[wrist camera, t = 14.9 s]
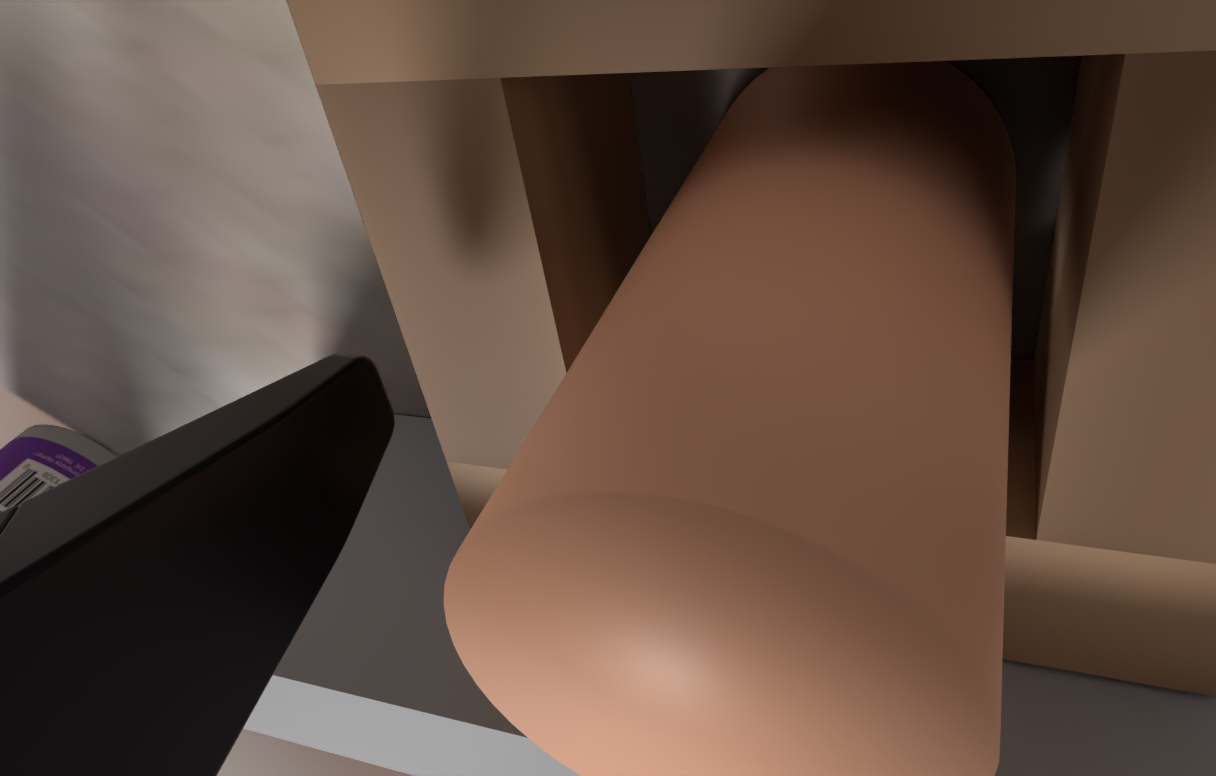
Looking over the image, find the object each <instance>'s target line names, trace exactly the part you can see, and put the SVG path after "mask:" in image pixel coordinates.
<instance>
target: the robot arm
mask: <svg viewBox="0 0 1216 776" xmlns="http://www.w3.org/2000/svg"><path fill="white" fill-rule="evenodd" d="M394 427H395V417H394V412H393V409H392V406H391V403H390V401H389V398H388V396H387V393H386V390H385V388H384V385H383V382H382V380H381V377H380V375H379V372H378V369H377V367H376V365H375V363H374V362H373V361H372V360H371V359H370V358H368V357H366V356H363V355H351V354H333V355H330V356H328V357H326V358H324V359H322V360H320V361H318V362H316V363H313V364H311V365H309V366H307V367H305V368H303V369H301V370H299V371H297V372H295V373H292V374H290V375H288V376H286V377H284V378H282V379H280V380H278V381H276V382H274V383H271V384H269V385H267V386H265V387H263V388H261V389H259V390H257V391H255V392H253V393H250V394H248V395H246V396H244V397H242V398H240V399H238V400H236V401H234V402H232V403H229V404H227V405H225V406H223V407H221V408H219V409H217V410H215V411H213V412H211V413H209V414H206V415H204V416H202V417H200V418H198V419H196V420H194V421H192V422H190V423H188V424H185V425H183V426H181V427H179V428H177V429H175V430H173V431H171V432H169V433H167V434H164V435H162V436H160V437H158V438H156V439H154V440H152V441H150V442H148V443H146V444H143V445H141V446H139V447H137V448H135V449H133V450H131V451H129V452H127V453H125V454H122V455H120V456H118V457H116V458H114V459H112V460H110V461H108V462H106V463H104V464H101V465H99V466H97V467H95V468H93V469H91V470H89V471H87V472H85V473H83V474H80V475H78V476H76V477H74V478H72V479H70V480H68V481H66V482H64V483H62V484H59V485H57V486H55V487H53V488H51V489H49V490H47V491H45V492H43V493H41V494H38V495H36V496H34V497H32V498H30V499H28V500H26V501H24V502H23V503H22V504H21V505H20V506H19V507H18V506H13V507H11V508H9V509H7V510H5V511H2V512H0V776H217V774H218V772H219V771H220V769H221V767H222V765H223V764H224V762H225V760H226V758H227V756H228V755H229V753H230V751H231V749H232V747H233V745H234V744H235V742H236V740H237V738H238V737H239V735H240V733H241V731H242V730H243V728H244V726H245V724H246V722H247V721H248V719H249V717H250V715H251V713H252V712H253V710H254V708H255V706H256V704H257V703H258V701H259V699H260V697H261V695H262V694H263V692H264V690H265V688H266V687H267V685H268V683H269V681H270V679H271V678H272V676H273V674H274V672H275V670H276V669H277V667H278V665H279V663H280V661H281V660H282V658H283V656H284V654H285V652H286V651H287V649H288V647H289V645H290V643H291V642H292V640H293V638H294V636H295V634H296V633H297V631H298V629H299V627H300V626H301V624H302V622H303V620H304V618H305V617H306V615H307V613H308V611H309V609H310V608H311V606H312V604H313V602H314V600H315V599H316V597H317V595H318V593H319V591H320V590H321V588H322V586H323V584H324V582H325V581H326V579H327V577H328V575H329V574H330V572H331V570H332V568H333V566H334V565H335V563H336V561H337V559H338V557H339V555H340V553H341V551H342V549H343V547H344V545H345V543H346V541H347V539H348V537H349V535H350V532H351V530H352V528H353V526H354V523H355V521H356V519H357V516H358V514H359V512H360V510H361V507H362V505H363V503H364V500H365V498H366V496H367V493H368V491H369V489H370V486H371V484H372V482H373V479H374V477H375V475H376V472H377V470H378V468H379V465H380V463H381V461H382V458H383V456H384V454H385V452H386V449H387V447H388V445H389V442H390V440H391V438H392V435H393V431H394Z"/></svg>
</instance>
